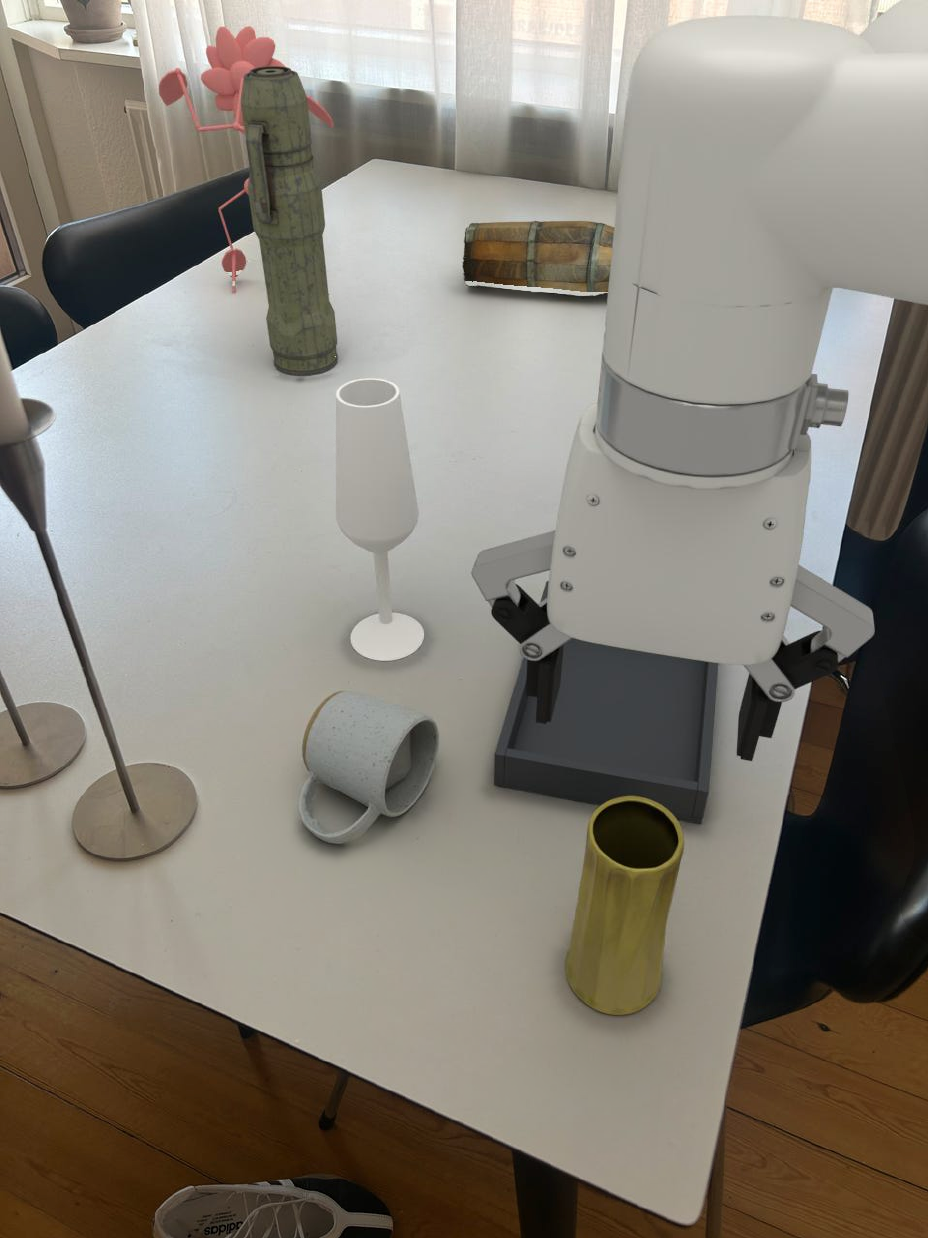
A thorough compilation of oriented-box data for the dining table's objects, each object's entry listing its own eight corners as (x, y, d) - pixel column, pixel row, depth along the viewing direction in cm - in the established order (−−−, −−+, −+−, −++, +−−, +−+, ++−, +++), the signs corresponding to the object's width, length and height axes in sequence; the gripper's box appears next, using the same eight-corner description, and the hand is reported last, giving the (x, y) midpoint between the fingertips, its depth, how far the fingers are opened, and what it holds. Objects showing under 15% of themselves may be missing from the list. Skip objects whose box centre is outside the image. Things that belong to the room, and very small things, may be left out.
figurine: (341, 301, 147) (315, 36, 125) (181, 292, 151) (128, 33, 128) (365, 265, 159) (346, 17, 136) (216, 257, 162) (174, 14, 140)
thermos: (351, 346, 135) (326, 61, 112) (321, 383, 126) (286, 82, 103) (292, 340, 136) (255, 58, 114) (258, 376, 128) (211, 79, 105)
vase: (639, 1034, 59) (668, 898, 49) (548, 987, 61) (560, 849, 52) (675, 955, 63) (708, 815, 53) (588, 914, 65) (606, 773, 56)
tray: (716, 636, 87) (722, 605, 84) (701, 824, 71) (708, 792, 68) (544, 610, 90) (546, 580, 87) (493, 785, 74) (494, 753, 71)
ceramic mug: (355, 731, 78) (346, 661, 73) (443, 768, 75) (439, 698, 70) (275, 824, 71) (258, 755, 66) (367, 869, 68) (357, 800, 63)
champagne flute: (420, 609, 90) (408, 369, 75) (428, 656, 85) (417, 410, 70) (348, 616, 89) (321, 375, 74) (352, 664, 84) (323, 417, 69)
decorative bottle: (453, 280, 145) (762, 303, 135) (460, 206, 143) (775, 224, 133) (469, 293, 155) (757, 315, 146) (476, 223, 153) (769, 241, 144)
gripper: (929, 385, 38) (825, 699, 49) (496, 340, 41) (490, 644, 52) (955, 486, 32) (830, 815, 43) (450, 424, 35) (454, 744, 46)
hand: (644, 721), depth 47 cm, fingers open, 9 cm apart
